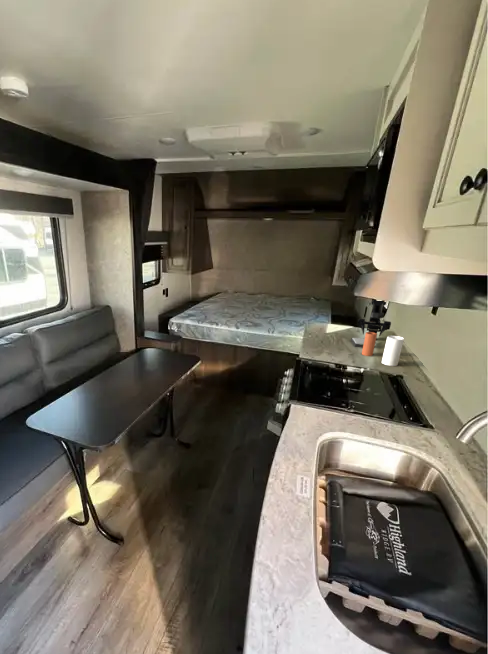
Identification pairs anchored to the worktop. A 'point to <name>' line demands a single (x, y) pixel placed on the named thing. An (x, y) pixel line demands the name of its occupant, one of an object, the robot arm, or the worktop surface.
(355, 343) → the scale
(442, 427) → the worktop surface
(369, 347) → the orange cylinder
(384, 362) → the cup
